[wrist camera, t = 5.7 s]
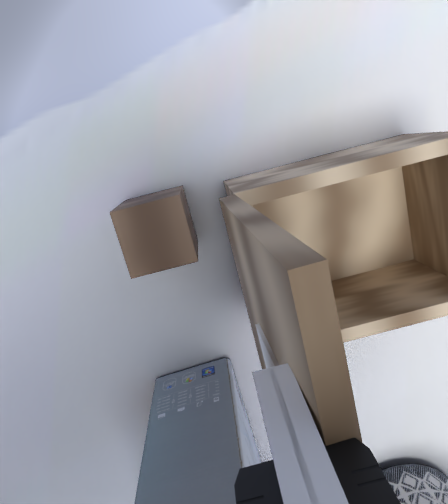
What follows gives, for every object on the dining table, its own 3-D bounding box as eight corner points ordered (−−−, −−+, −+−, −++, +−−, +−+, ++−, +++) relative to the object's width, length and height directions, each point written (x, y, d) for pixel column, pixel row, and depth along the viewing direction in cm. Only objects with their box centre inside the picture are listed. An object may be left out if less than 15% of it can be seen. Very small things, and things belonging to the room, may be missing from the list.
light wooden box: (254, 306, 38) (274, 360, 29) (223, 180, 35) (233, 193, 26) (420, 263, 38) (495, 303, 29) (403, 134, 35) (481, 129, 26)
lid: (275, 363, 28) (259, 368, 28) (234, 194, 25) (215, 199, 25) (395, 614, 13) (359, 626, 13) (326, 259, 10) (279, 272, 10)
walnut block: (143, 254, 37) (131, 278, 30) (126, 200, 35) (109, 212, 29) (197, 240, 37) (198, 261, 30) (182, 185, 35) (179, 194, 29)
